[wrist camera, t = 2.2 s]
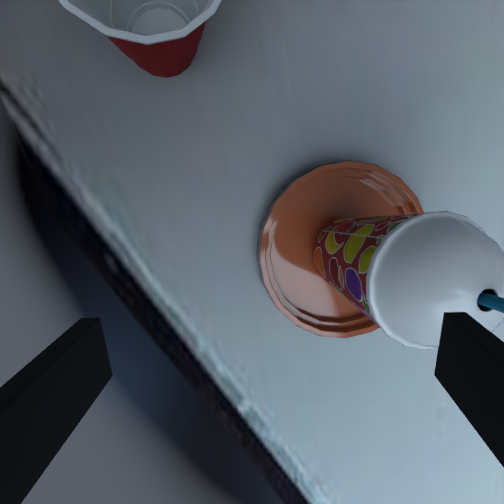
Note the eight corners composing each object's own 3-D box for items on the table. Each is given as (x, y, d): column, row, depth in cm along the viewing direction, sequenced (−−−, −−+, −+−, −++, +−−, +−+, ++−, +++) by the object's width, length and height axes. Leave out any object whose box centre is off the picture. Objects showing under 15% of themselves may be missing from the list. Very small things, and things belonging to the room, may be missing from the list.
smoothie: (392, 236, 32) (677, 281, 12) (350, 303, 33) (560, 449, 13) (328, 193, 31) (538, 170, 11) (285, 265, 31) (411, 364, 11)
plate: (340, 127, 30) (350, 121, 28) (445, 245, 33) (461, 247, 31) (221, 255, 30) (222, 259, 28) (337, 359, 34) (345, 370, 32)
